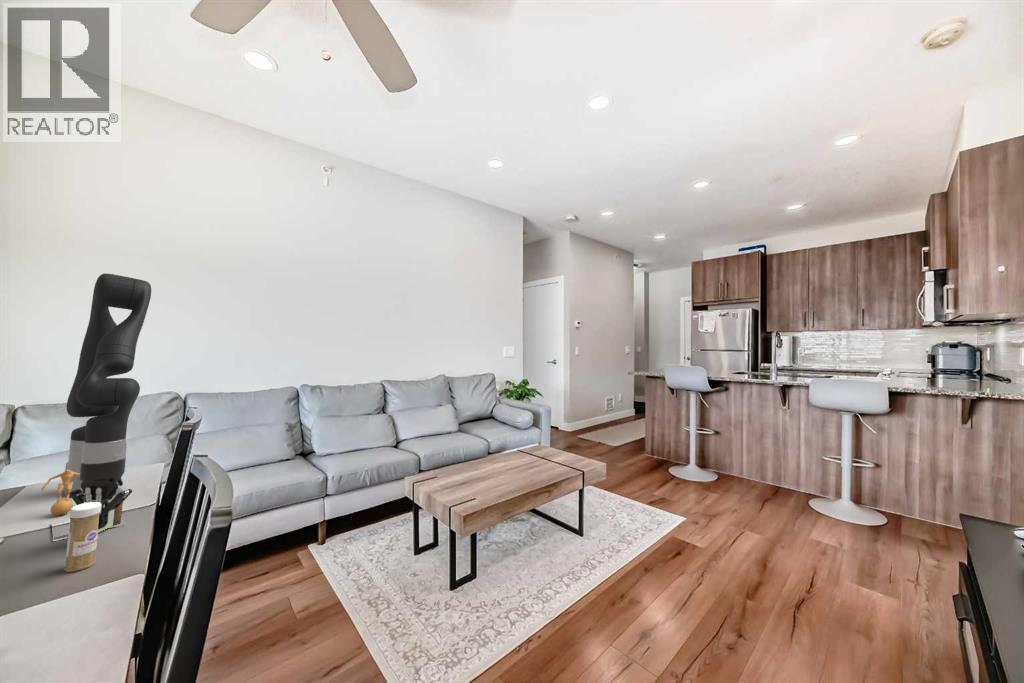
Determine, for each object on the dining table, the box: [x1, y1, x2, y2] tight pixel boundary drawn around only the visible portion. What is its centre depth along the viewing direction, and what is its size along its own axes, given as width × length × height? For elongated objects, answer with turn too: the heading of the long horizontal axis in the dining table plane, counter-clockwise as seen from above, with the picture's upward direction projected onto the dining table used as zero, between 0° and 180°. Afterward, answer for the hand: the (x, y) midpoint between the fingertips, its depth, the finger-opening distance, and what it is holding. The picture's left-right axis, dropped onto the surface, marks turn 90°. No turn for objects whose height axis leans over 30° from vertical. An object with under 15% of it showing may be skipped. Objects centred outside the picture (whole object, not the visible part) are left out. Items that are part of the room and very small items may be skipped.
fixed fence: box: [113, 502, 124, 526], centre depth 102 cm, size 12×2×7 cm, turn 53°
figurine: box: [41, 470, 80, 516], centre depth 103 cm, size 8×6×12 cm
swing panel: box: [98, 505, 114, 533], centre depth 93 cm, size 9×2×6 cm, turn 3°
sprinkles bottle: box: [63, 502, 101, 573], centre depth 81 cm, size 5×5×14 cm
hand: (98, 528), depth 91 cm, fingers closed
